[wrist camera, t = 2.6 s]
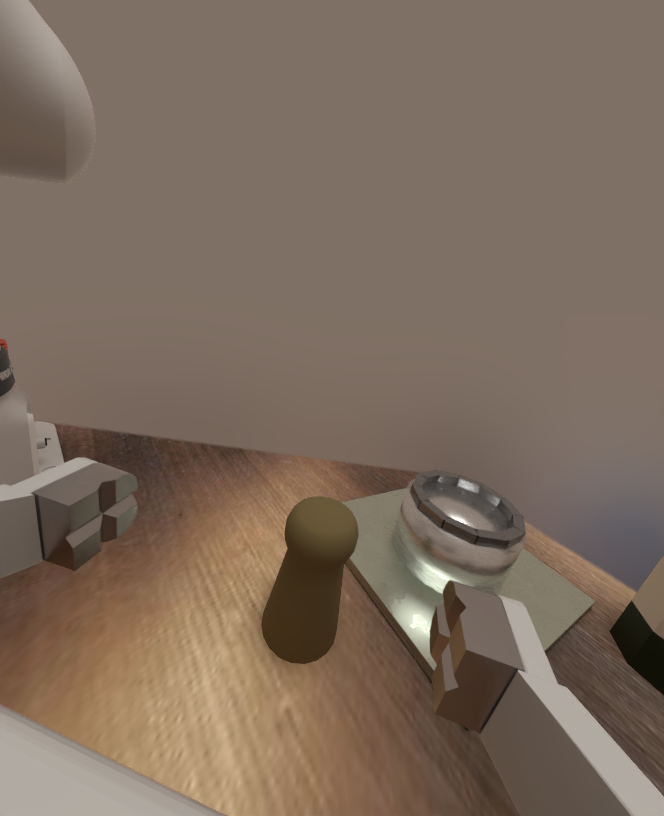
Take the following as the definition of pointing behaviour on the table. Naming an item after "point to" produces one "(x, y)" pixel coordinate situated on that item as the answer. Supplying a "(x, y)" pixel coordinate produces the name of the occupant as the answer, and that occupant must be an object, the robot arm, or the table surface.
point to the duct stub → (453, 558)
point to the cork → (310, 580)
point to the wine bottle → (645, 629)
